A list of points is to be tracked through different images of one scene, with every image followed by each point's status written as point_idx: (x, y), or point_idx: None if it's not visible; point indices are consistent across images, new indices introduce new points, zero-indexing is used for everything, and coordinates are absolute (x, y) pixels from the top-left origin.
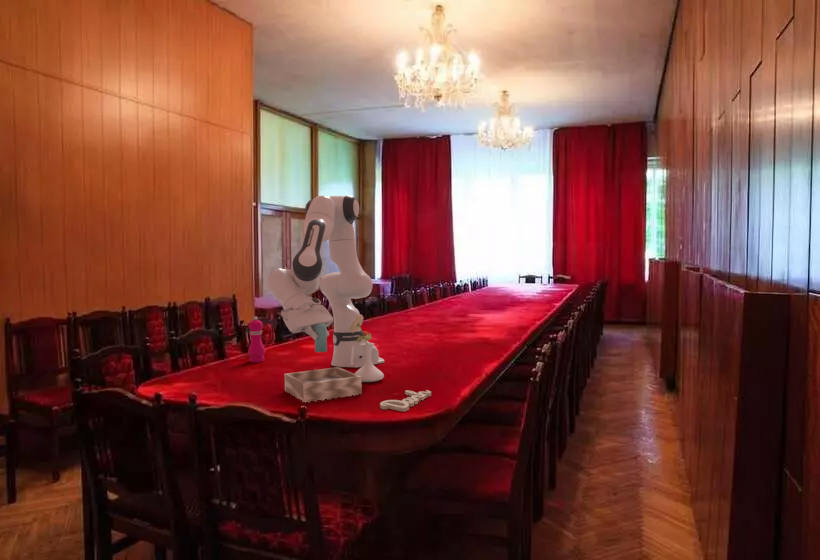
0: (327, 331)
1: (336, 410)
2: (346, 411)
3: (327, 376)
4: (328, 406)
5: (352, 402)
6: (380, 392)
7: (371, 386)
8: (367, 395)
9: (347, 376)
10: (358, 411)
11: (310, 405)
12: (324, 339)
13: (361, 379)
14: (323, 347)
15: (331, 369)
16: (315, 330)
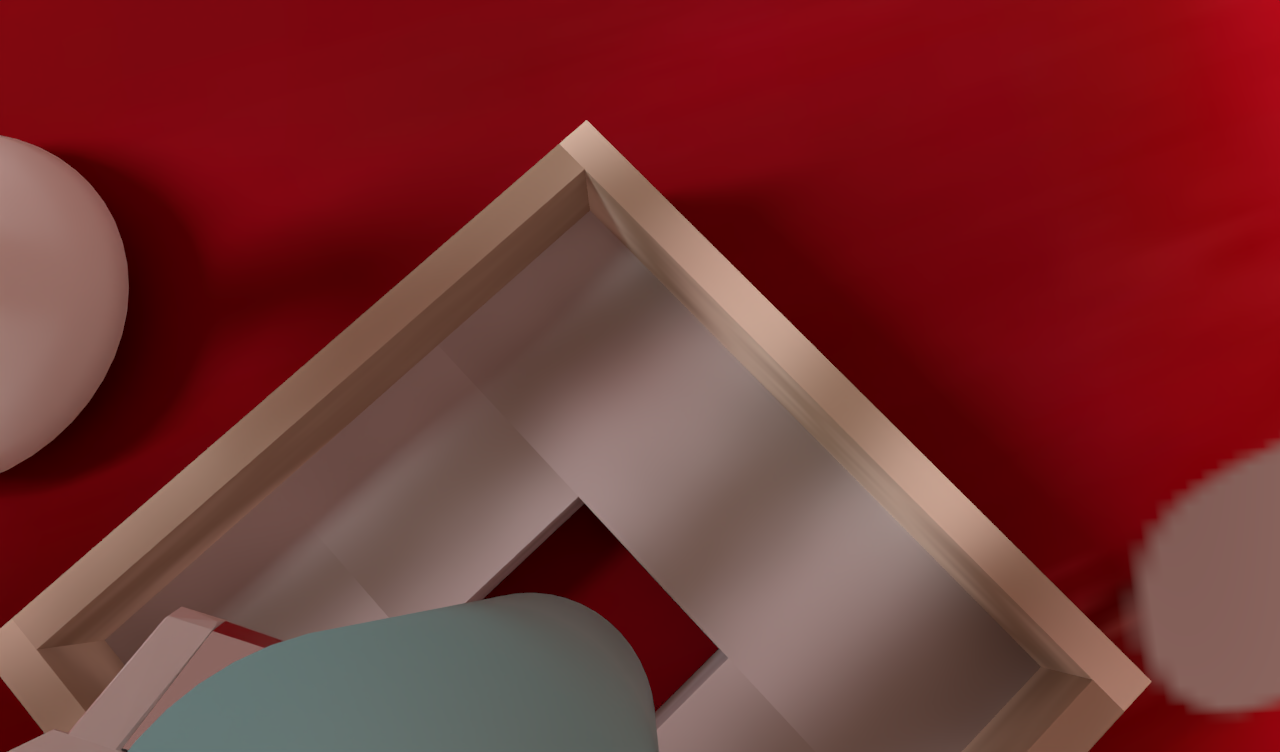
0: (131, 682)
1: (1222, 238)
2: (1229, 142)
3: None
4: (1111, 362)
5: (920, 191)
6: (498, 52)
7: (244, 211)
8: (634, 137)
9: (362, 388)
10: (1200, 44)
11: (1119, 557)
12: (571, 624)
13: (120, 331)
14: (612, 633)
15: None
16: None
